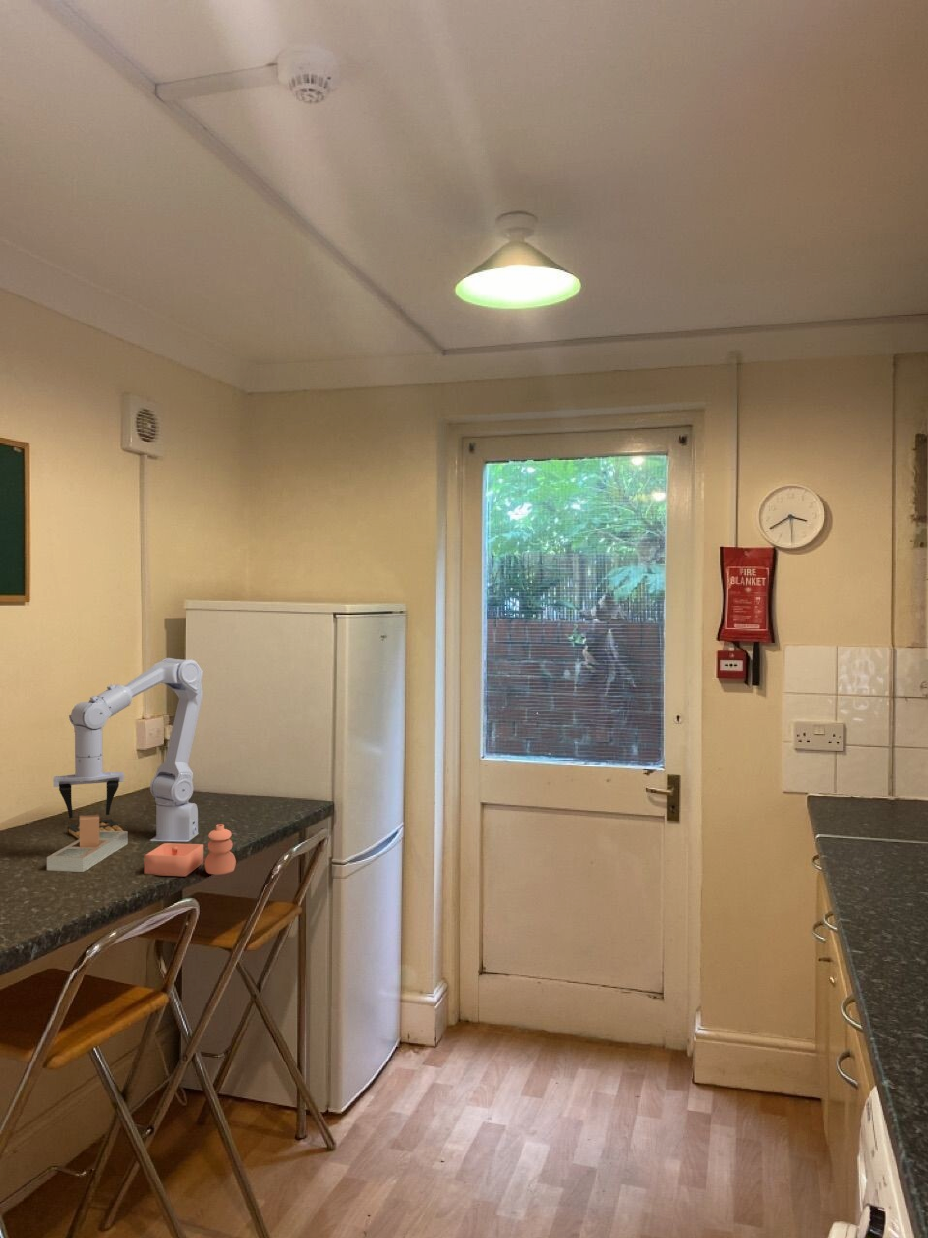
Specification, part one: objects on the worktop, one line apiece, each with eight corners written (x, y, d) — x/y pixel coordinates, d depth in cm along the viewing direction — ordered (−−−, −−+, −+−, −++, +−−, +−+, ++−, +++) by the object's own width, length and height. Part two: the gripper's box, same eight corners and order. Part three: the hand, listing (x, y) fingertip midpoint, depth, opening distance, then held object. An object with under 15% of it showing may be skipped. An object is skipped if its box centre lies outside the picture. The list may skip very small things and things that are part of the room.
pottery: (144, 874, 191) (144, 828, 191) (163, 861, 200) (163, 817, 200) (226, 878, 189) (226, 831, 189) (242, 864, 199) (242, 820, 198)
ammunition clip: (67, 833, 222) (84, 846, 213) (67, 826, 222) (84, 838, 213) (111, 826, 229) (129, 838, 220) (111, 819, 229) (129, 830, 220)
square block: (98, 853, 206) (98, 814, 206) (99, 858, 202) (99, 818, 202) (79, 855, 204) (79, 816, 204) (79, 860, 201) (79, 820, 200)
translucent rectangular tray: (94, 843, 214) (94, 830, 214) (127, 843, 214) (127, 831, 214) (46, 871, 192) (46, 857, 192) (83, 872, 192) (83, 858, 192)
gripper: (122, 750, 209) (122, 808, 209) (54, 754, 203) (54, 814, 204) (123, 755, 203) (124, 815, 203) (53, 760, 197) (53, 821, 197)
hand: (89, 815), depth 203 cm, fingers open, 7 cm apart
